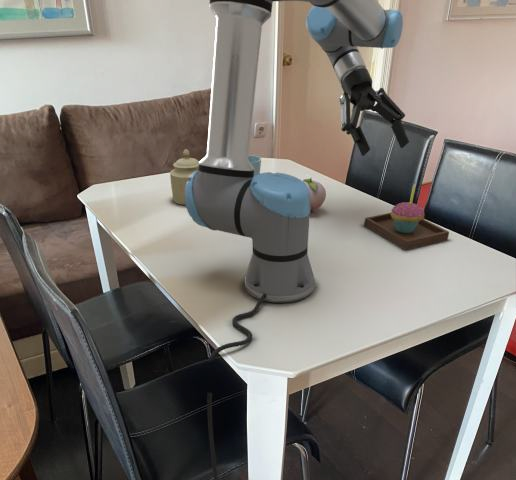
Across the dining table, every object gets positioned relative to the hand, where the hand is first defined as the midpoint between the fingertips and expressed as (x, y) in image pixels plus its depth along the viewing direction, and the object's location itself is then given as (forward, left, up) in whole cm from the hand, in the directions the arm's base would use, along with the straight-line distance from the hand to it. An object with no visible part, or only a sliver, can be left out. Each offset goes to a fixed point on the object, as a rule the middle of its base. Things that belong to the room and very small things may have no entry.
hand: (386, 148), depth 130 cm
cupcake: (-8, -6, -19) cm, 21 cm away
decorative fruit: (+5, +19, -19) cm, 28 cm away
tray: (-9, -6, -19) cm, 22 cm away
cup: (+21, +38, -13) cm, 46 cm away
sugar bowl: (+15, +54, -12) cm, 57 cm away
